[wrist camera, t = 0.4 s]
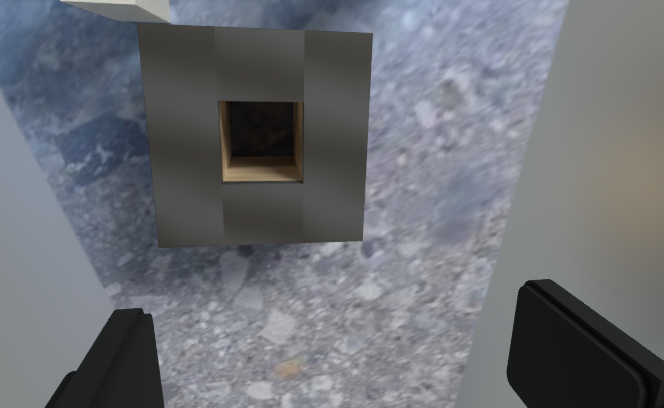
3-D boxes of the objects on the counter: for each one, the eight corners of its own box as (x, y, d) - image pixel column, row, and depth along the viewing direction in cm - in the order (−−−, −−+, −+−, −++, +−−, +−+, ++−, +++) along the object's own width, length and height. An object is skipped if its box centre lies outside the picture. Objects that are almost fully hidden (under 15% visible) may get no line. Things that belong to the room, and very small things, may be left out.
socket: (171, 36, 34) (137, 23, 25) (344, 43, 36) (372, 33, 27) (184, 204, 38) (159, 247, 29) (339, 201, 41) (362, 240, 31)
